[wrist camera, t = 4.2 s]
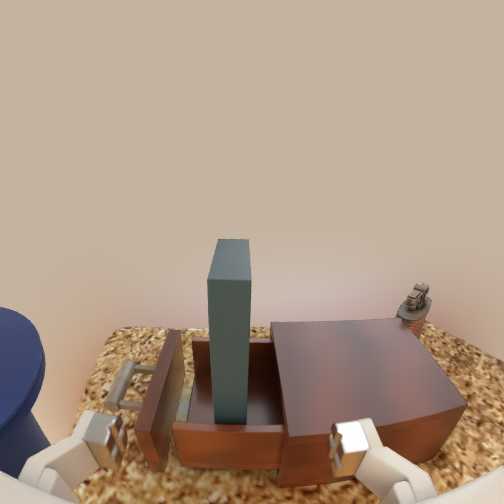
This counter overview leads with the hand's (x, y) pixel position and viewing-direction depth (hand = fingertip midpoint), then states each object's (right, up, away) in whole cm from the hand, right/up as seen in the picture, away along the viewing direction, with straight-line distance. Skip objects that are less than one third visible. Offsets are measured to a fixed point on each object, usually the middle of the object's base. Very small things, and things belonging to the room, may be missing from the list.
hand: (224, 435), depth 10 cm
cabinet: (+10, -10, +16) cm, 21 cm away
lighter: (+21, -7, +26) cm, 34 cm away
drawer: (-3, -9, +15) cm, 18 cm away
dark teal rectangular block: (-1, -8, +15) cm, 17 cm away
